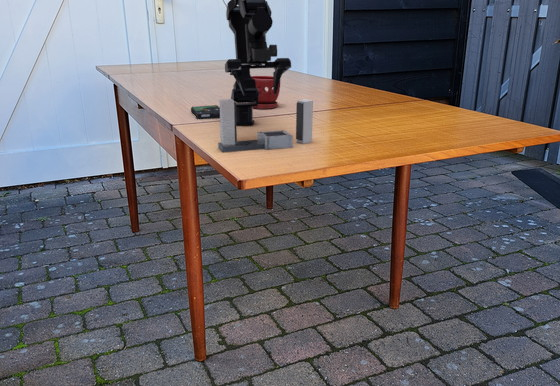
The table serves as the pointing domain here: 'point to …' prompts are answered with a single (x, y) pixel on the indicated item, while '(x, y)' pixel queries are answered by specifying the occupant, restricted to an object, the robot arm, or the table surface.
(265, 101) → the plant pot
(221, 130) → the grey l-shaped stand
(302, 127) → the tall grey pillar
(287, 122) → the table surface
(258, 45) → the robot arm
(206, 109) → the disk drive
